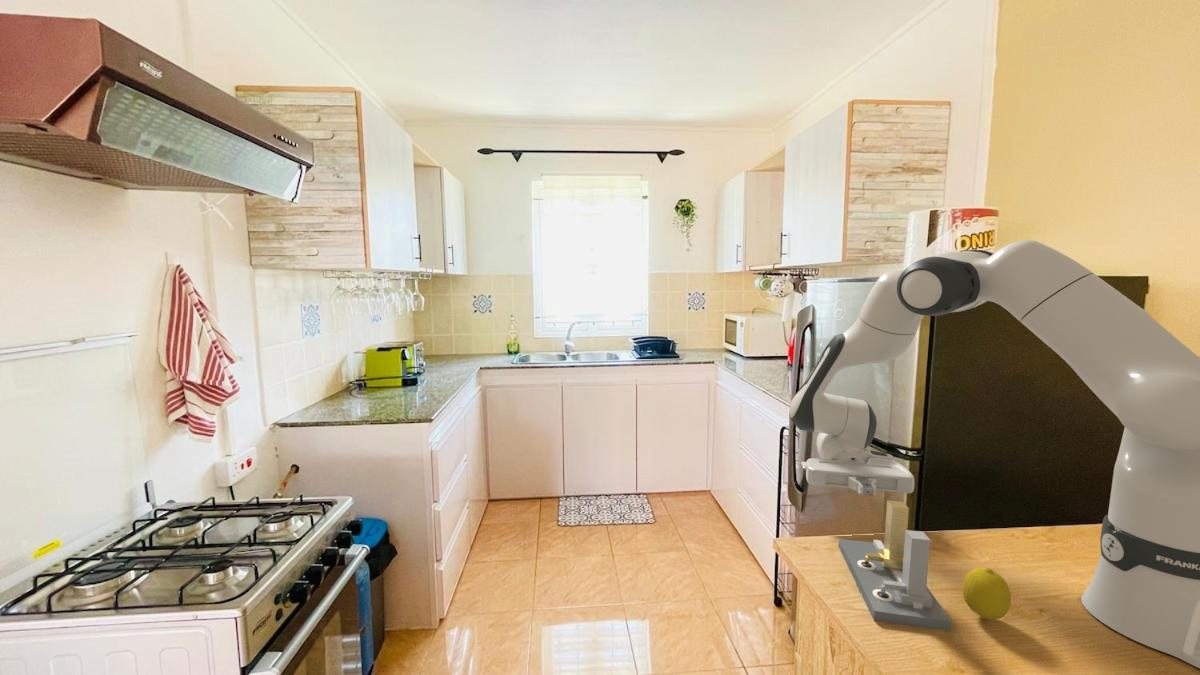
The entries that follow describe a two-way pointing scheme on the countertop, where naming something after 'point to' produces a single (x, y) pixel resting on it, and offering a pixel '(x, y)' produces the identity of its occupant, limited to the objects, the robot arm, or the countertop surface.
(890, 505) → the brass leg
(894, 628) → the countertop surface
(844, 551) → the board
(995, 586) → the lemon
